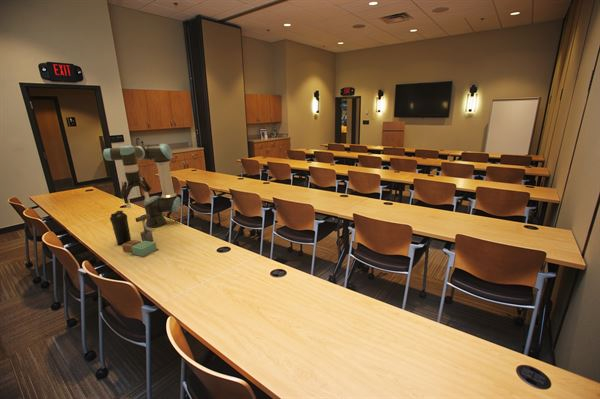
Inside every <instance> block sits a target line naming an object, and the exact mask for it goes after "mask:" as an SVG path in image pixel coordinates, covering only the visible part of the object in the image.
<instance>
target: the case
mask: <svg viewBox="0 0 600 399" xmlns="http://www.w3.org/2000/svg"><path fill="white" fill-rule="evenodd" d="M140 242H142V240H137V239H136V240H135V239H131V241H129V242H126V243H124V244H122V245H121V246H122V247H121V248H122V252H124V253H128V254H132V249H131V247H132V246H134V245H136V244H138V243H140Z"/></svg>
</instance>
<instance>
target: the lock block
mask: <svg viewBox="0 0 600 399" xmlns="http://www.w3.org/2000/svg"><path fill="white" fill-rule="evenodd" d="M140 239H141V242H142V241H149V242H154V237H153V231H152V232H150V231H146V232H144V230H143V231H141V232H140Z"/></svg>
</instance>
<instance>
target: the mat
mask: <svg viewBox="0 0 600 399" xmlns="http://www.w3.org/2000/svg"><path fill="white" fill-rule="evenodd" d="M156 249H157V250H155V251H153V252H151V253H149V254H147V255H145V256H140V255H135V254H132V253H129V255H130V256H132V257H134V256H135V257H139V258H147V256H149V255H151V254H153V253H156V252H157V251H159V250H160V249H159V248H156Z"/></svg>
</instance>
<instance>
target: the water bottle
mask: <svg viewBox="0 0 600 399" xmlns="http://www.w3.org/2000/svg"><path fill="white" fill-rule="evenodd" d="M110 214H111V215H110V218H109V221H110V222H111V226H112V229H113V232H114V236H115V240H116V243H117V246H122V244H124V243H126V242H129V241H131V240H132V237H131V232H130V227H129V221H128V215H127V214H126V213H124V210H117V211H116V212H114V213H110Z"/></svg>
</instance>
